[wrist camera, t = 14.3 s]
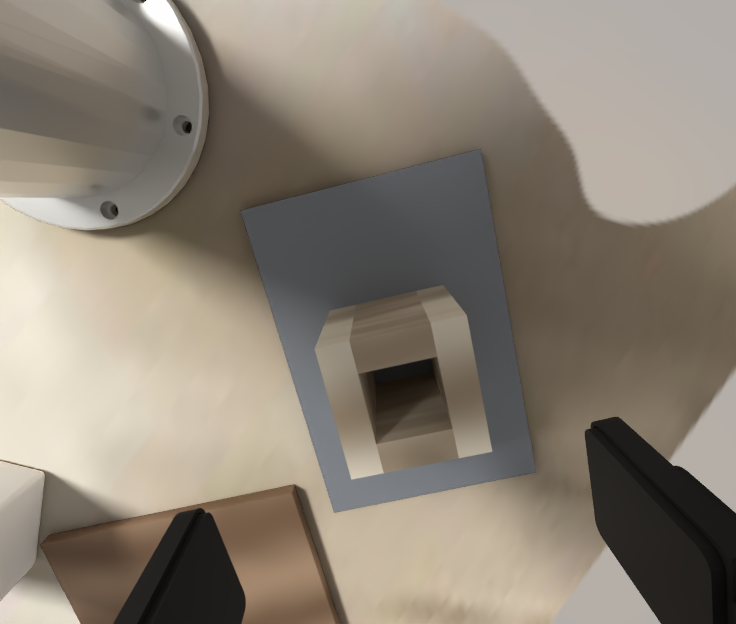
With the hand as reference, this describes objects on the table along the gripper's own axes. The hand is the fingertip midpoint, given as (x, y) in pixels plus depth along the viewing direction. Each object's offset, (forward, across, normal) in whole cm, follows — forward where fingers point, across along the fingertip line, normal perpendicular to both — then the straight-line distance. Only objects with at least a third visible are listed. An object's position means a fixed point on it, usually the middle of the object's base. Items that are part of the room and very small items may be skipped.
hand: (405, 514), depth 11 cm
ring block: (+13, -1, +1) cm, 13 cm away
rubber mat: (+14, -1, +1) cm, 14 cm away
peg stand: (+14, +15, +16) cm, 26 cm away
